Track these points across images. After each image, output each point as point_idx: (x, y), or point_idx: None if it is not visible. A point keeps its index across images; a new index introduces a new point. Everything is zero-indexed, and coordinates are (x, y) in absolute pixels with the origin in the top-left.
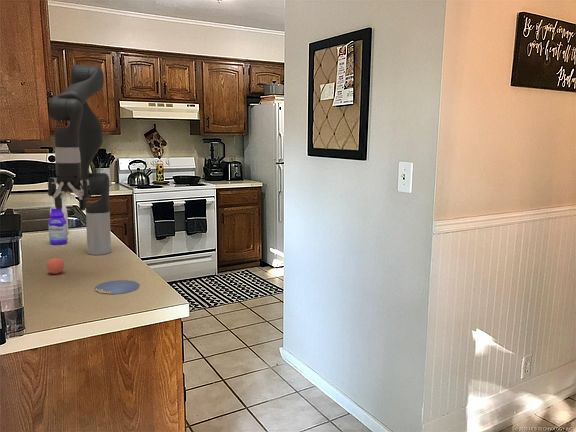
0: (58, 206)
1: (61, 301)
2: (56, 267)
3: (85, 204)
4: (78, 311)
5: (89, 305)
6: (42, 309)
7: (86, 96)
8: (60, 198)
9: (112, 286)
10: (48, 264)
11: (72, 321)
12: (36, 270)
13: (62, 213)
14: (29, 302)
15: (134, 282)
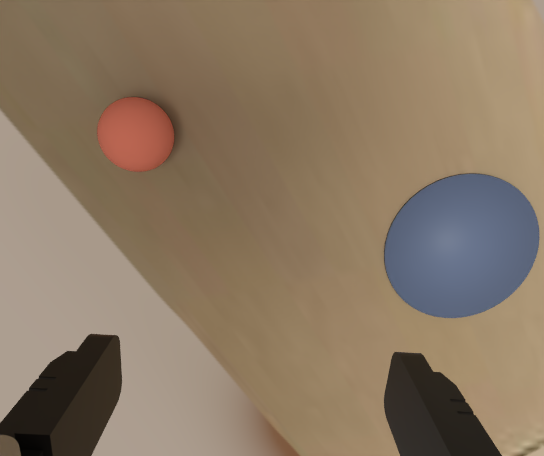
0: (108, 408)
1: (341, 387)
2: (161, 163)
3: (469, 424)
4: None
5: None
6: (324, 441)
7: None
8: (59, 452)
9: (443, 250)
10: (121, 167)
11: None
12: (39, 106)
13: None
14: (259, 407)
15: (510, 193)
